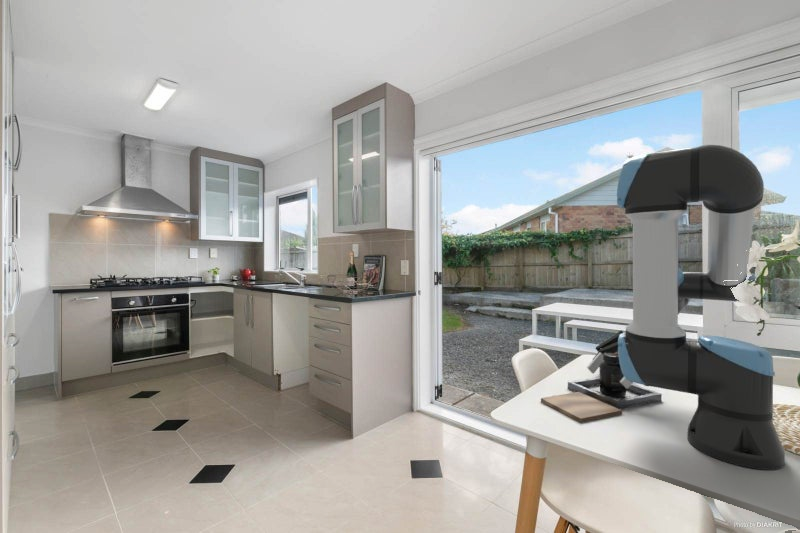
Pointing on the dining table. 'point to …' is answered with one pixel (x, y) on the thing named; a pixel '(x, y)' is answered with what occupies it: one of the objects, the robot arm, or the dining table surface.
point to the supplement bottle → (611, 376)
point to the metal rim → (645, 398)
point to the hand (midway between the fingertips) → (605, 377)
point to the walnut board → (581, 406)
